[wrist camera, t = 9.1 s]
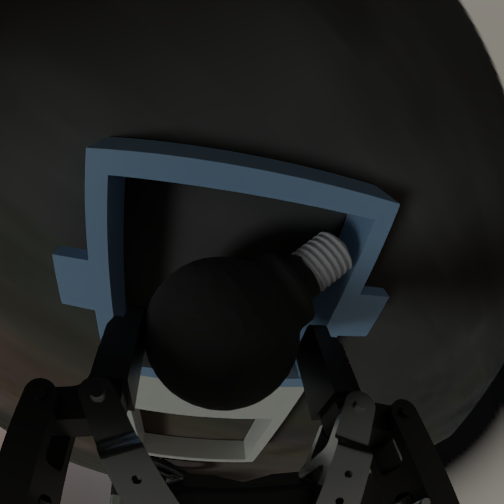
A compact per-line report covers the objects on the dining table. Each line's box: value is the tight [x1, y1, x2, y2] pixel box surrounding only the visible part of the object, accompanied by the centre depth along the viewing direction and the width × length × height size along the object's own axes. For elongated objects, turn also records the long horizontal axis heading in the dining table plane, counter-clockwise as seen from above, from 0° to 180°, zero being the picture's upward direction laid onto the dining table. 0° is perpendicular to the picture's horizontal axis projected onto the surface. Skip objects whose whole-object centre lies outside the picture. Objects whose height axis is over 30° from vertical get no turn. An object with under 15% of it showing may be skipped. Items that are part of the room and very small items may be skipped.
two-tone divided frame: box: [52, 137, 400, 462], centre depth 19 cm, size 17×30×3 cm, turn 168°
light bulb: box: [143, 232, 352, 411], centre depth 12 cm, size 6×6×10 cm
